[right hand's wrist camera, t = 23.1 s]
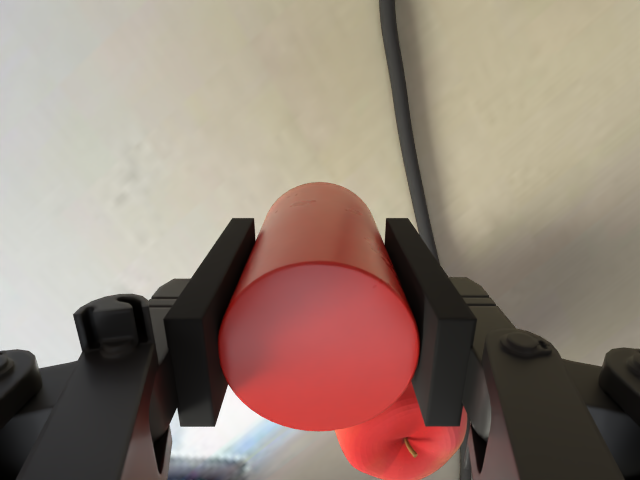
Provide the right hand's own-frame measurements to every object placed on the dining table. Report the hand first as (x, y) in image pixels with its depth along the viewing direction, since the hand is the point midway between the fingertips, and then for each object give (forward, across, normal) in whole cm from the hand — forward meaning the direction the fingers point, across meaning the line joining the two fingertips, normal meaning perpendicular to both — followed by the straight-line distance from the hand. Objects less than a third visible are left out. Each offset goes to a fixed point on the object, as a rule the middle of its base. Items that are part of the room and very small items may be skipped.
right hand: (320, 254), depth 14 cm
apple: (+14, +5, -15) cm, 21 cm away
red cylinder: (+2, 0, 0) cm, 2 cm away
